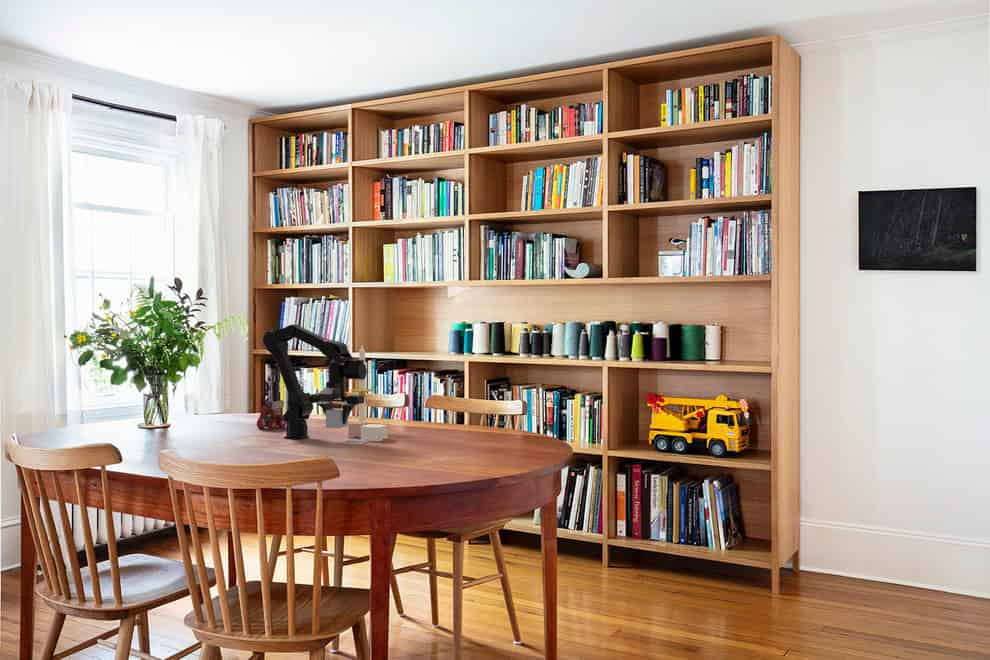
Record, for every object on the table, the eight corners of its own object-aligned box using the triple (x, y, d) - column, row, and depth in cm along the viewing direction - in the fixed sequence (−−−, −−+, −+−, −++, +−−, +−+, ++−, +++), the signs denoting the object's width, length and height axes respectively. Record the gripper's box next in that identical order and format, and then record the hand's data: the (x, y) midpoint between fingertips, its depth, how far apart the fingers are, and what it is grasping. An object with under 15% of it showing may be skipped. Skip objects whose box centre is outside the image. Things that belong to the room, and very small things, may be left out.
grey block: (325, 427, 302) (325, 410, 302) (333, 425, 307) (333, 408, 307) (339, 428, 300) (339, 410, 300) (347, 426, 305) (347, 409, 305)
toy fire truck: (252, 429, 329) (252, 402, 329) (275, 425, 340) (275, 398, 340) (267, 431, 326) (267, 403, 325) (289, 426, 337) (289, 399, 337)
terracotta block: (348, 437, 311) (348, 423, 311) (351, 435, 316) (351, 421, 316) (362, 437, 311) (362, 423, 311) (365, 435, 316) (365, 421, 316)
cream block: (360, 441, 304) (360, 426, 304) (369, 438, 311) (369, 424, 311) (379, 442, 302) (379, 427, 302) (387, 439, 309) (387, 424, 309)
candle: (363, 433, 321) (363, 344, 320) (342, 431, 326) (342, 343, 325) (381, 430, 329) (381, 343, 328) (360, 428, 334) (360, 342, 333)
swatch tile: (341, 443, 298) (341, 442, 298) (351, 440, 305) (351, 439, 305) (359, 444, 296) (359, 443, 296) (368, 441, 302) (368, 440, 302)
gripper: (300, 379, 299) (300, 425, 299) (348, 381, 292) (349, 428, 293) (317, 377, 309) (318, 421, 310) (365, 379, 303) (365, 424, 303)
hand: (336, 423), depth 304 cm, fingers closed on grey block, 5 cm apart
